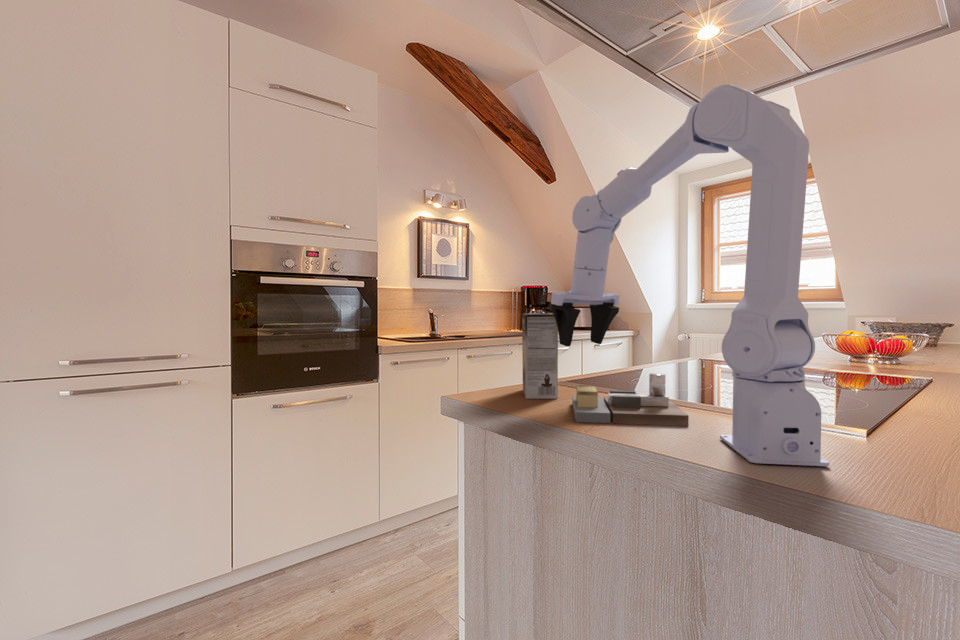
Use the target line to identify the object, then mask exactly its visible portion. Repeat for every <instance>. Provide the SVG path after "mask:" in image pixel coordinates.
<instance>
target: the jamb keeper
mask: <svg viewBox="0 0 960 640" xmlns="http://www.w3.org/2000/svg"><path fill="white" fill-rule="evenodd" d="M575 385H576V386H575V387H576V391H575V392H576V393H575V395H572V396H571V398H572V404H571V405H572V409H573V414H574V418H575V422H576V423H594V424H595V423H596V424H598V423H599V424H611V418H610V411H609V410H608V408H607V406H606V404H605V402H604V398H603V397H602V396H601V395H600V396H598V395H599V394H598V393H599V391H598V390H597V388H596V386H595V385H582V384H580V385H579V384H578V385H577V384H575Z"/></svg>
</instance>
